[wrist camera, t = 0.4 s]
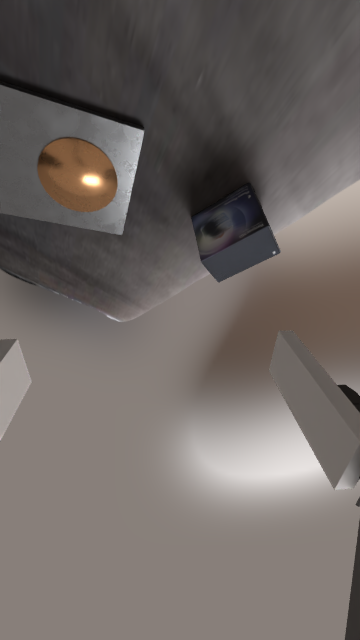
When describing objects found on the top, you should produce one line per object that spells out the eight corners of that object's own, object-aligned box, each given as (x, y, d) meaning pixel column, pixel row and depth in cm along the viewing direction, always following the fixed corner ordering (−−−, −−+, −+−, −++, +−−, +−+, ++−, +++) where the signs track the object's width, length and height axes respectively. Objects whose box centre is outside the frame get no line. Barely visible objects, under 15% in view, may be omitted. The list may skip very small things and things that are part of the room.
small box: (249, 178, 41) (270, 224, 36) (262, 209, 46) (283, 253, 41) (188, 216, 46) (199, 262, 40) (207, 240, 50) (219, 284, 45)
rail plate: (-93, 190, 36) (-97, 196, 36) (-171, 24, 24) (-179, 28, 24) (121, 231, 46) (121, 235, 46) (143, 127, 34) (144, 131, 33)
